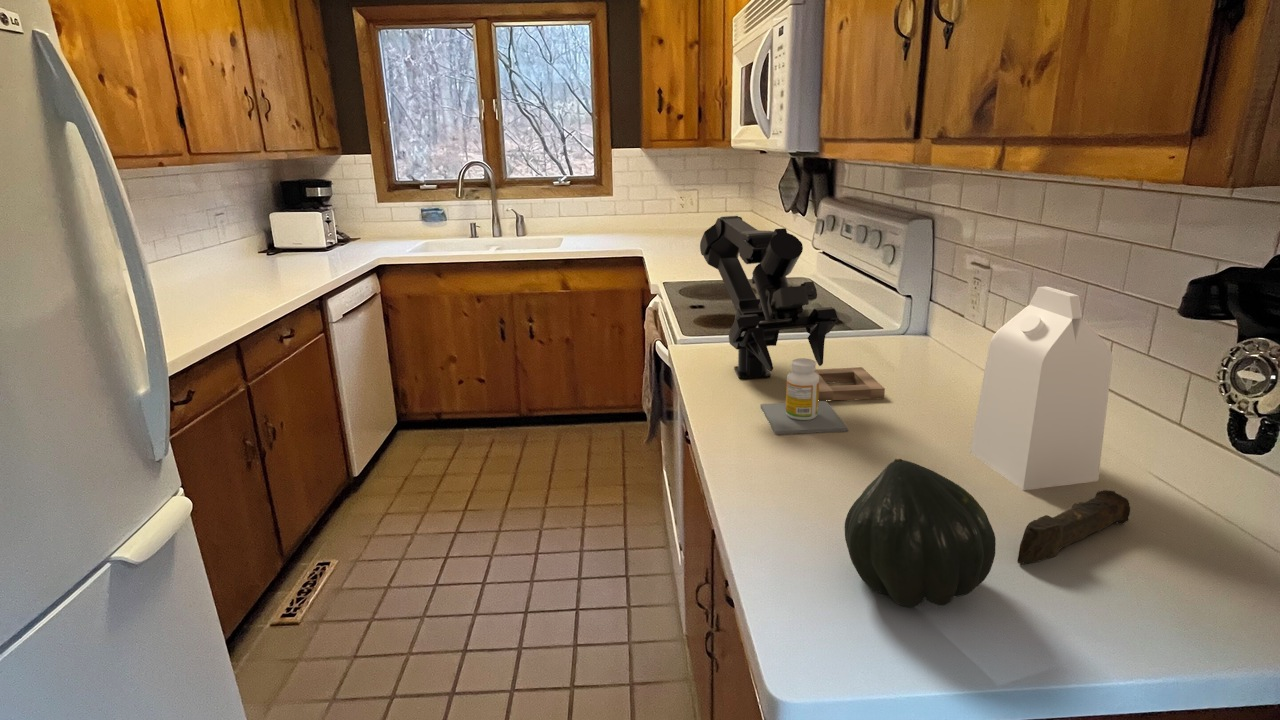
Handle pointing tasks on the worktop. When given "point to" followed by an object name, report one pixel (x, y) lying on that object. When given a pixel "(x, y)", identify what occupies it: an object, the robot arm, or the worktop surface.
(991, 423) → the milk
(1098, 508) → the hand tool
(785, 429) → the slate mat
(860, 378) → the hole board
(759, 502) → the worktop surface
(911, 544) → the squash
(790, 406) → the supplement bottle
